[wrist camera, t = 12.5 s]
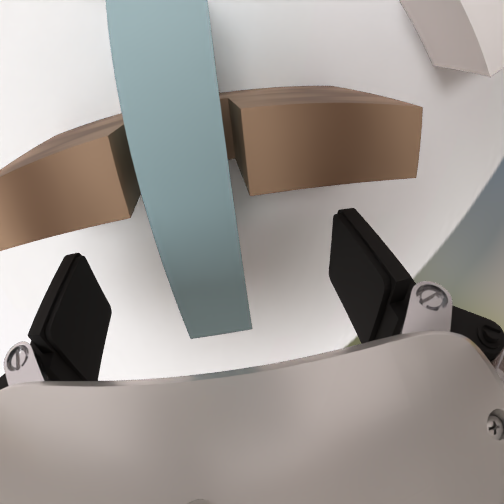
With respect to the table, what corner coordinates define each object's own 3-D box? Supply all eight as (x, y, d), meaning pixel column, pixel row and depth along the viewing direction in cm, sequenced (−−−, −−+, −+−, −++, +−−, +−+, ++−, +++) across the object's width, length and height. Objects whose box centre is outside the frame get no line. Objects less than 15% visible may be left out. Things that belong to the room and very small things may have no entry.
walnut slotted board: (331, 85, 16) (422, 107, 9) (332, 129, 18) (416, 177, 10) (55, 135, 15) (-28, 191, 7) (67, 176, 16) (-2, 251, 9)
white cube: (396, -2, 12) (454, -11, 7) (440, -17, 11) (494, -21, 6) (432, 66, 15) (490, 77, 10) (470, 44, 14) (524, 53, 9)
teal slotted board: (200, 0, 12) (200, -62, 4) (232, 232, 21) (252, 328, 14) (149, 10, 11) (104, -40, 4) (191, 239, 21) (190, 338, 13)
